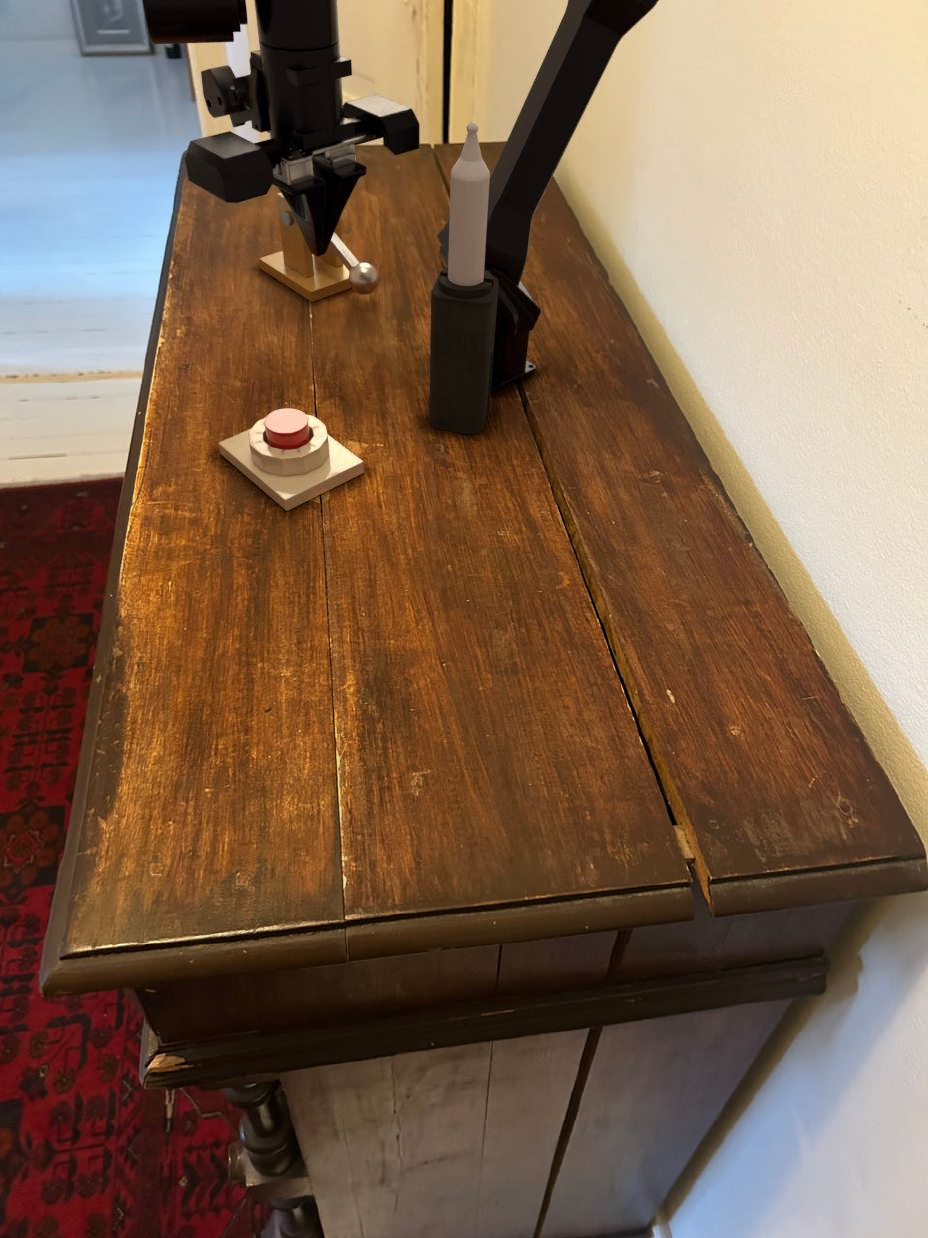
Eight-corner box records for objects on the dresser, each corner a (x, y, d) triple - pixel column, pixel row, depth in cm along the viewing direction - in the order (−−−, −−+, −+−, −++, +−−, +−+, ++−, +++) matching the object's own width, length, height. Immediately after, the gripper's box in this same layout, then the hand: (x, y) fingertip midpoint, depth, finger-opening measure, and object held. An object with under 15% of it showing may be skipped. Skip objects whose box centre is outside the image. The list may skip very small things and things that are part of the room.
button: (318, 439, 73) (317, 422, 72) (283, 456, 71) (280, 438, 70) (293, 420, 75) (291, 403, 73) (258, 436, 73) (255, 418, 72)
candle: (481, 436, 79) (501, 138, 60) (426, 427, 79) (430, 129, 61) (491, 405, 82) (513, 114, 64) (438, 397, 83) (445, 106, 64)
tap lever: (381, 295, 94) (388, 273, 91) (357, 304, 92) (363, 282, 89) (311, 210, 96) (316, 186, 93) (287, 218, 94) (291, 193, 91)
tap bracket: (369, 280, 98) (366, 200, 92) (311, 302, 94) (304, 220, 88) (317, 249, 103) (310, 170, 96) (259, 268, 99) (249, 188, 92)
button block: (364, 472, 74) (362, 443, 72) (286, 511, 71) (282, 482, 68) (296, 420, 79) (293, 391, 77) (220, 453, 75) (214, 424, 73)
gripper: (333, -3, 71) (345, 195, 82) (123, 33, 61) (170, 251, 73) (424, 28, 65) (424, 236, 77) (210, 73, 56) (245, 301, 68)
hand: (317, 253), depth 74 cm, fingers closed
